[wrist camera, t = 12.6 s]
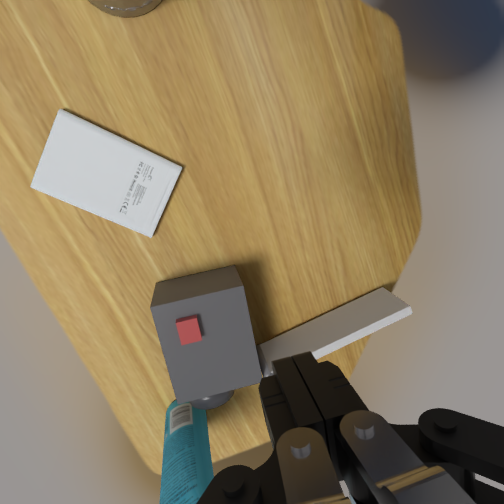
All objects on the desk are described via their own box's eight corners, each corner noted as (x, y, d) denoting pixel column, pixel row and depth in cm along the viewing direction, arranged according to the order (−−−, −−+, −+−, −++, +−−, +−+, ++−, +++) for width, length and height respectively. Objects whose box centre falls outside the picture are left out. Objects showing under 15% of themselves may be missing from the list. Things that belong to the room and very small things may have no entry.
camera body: (156, 282, 42) (149, 310, 34) (234, 265, 43) (244, 288, 35) (183, 383, 46) (183, 428, 38) (255, 365, 47) (268, 405, 39)
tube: (182, 442, 48) (179, 622, 29) (151, 423, 46) (128, 601, 28) (220, 400, 47) (242, 558, 29) (191, 380, 46) (193, 533, 27)
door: (382, 286, 46) (409, 305, 40) (386, 297, 47) (414, 318, 41) (252, 347, 45) (262, 375, 40) (257, 358, 46) (268, 387, 40)
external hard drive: (64, 109, 37) (182, 166, 40) (35, 186, 38) (152, 235, 41) (58, 107, 35) (182, 167, 38) (29, 188, 36) (151, 239, 40)
